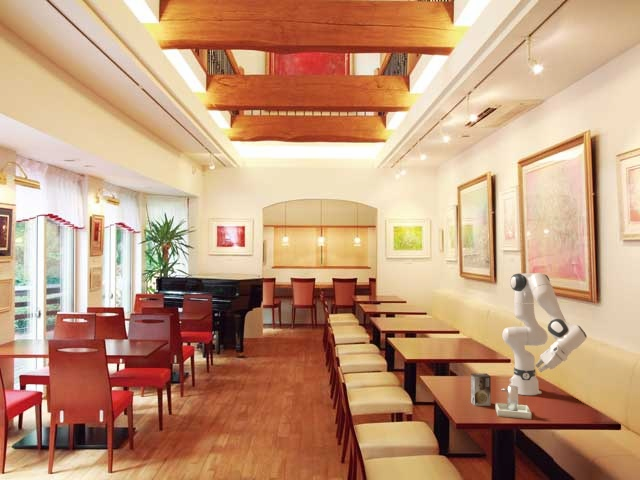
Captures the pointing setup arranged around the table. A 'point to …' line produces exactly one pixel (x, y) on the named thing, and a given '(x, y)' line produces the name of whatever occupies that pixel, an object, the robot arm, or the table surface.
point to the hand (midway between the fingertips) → (537, 368)
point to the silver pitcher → (512, 398)
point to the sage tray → (521, 413)
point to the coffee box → (480, 389)
